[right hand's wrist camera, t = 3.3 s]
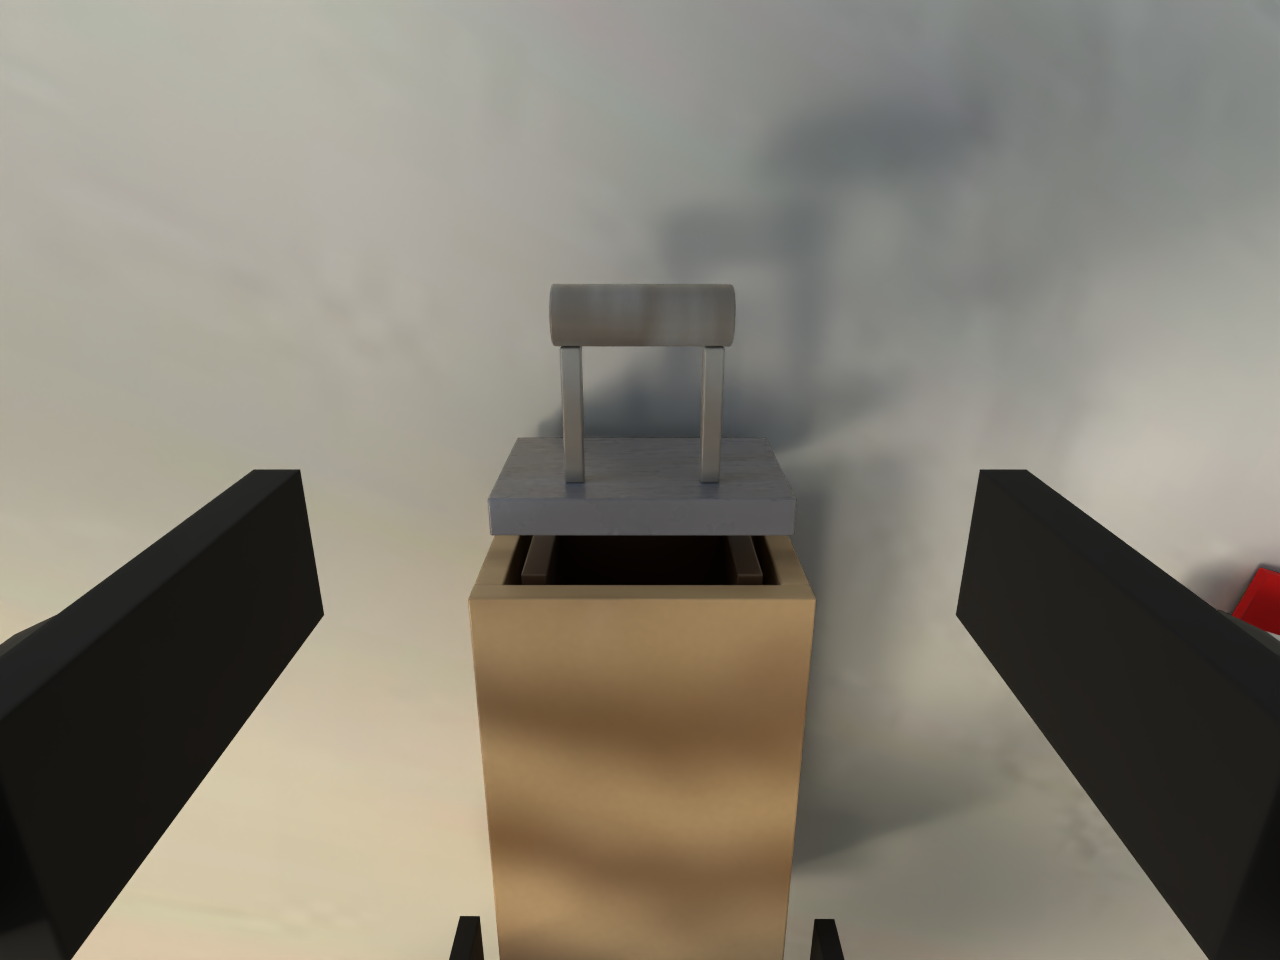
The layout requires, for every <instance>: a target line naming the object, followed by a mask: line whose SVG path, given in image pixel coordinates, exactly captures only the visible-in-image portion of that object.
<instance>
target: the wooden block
mask: <svg viewBox="0 0 1280 960" xmlns="http://www.w3.org/2000/svg"><path fill="white" fill-rule="evenodd" d="M750 536H751V539H752V542H753V546H754V549H755V552H756V555H757V558H758V561H759V565H760V568H761V571H762V574H763V582H762V585H522V580H521V574H522V571H523V568H524V564H525V561H526V558H527V554H528V551H529V548H530V545H531V541H532V538H533V535H495V537H494V539H493V541H492V544H491V546H490V549H489V551H488V554H487V556H486V558H485V561H484V563H483V566H482V568H481V570H480V573H479V575H478V578H477V580H476V583H475V585H474V587H473V589H472V592H471V594H470V596H469V599H468V604H469V616H470V627H471V638H472V649H473V661H474V672H475V683H476V695H477V706H478V717H479V729H480V740H481V751H482V762H483V774H484V785H485V796H486V808H487V819H488V830H489V842H490V853H491V864H492V876H493V887H494V898H495V909H496V921H497V932H498V943H499V955H500V960H783V956H784V945H785V934H786V924H787V913H788V902H789V891H790V880H791V869H792V858H793V847H794V836H795V826H796V815H797V804H798V793H799V782H800V771H801V760H802V749H803V739H804V728H805V717H806V706H807V695H808V684H809V673H810V662H811V652H812V641H813V630H814V619H815V608H816V598H815V596H814V593H813V591H812V589H811V586H810V585H809V583H808V580H807V578H806V576H805V573H804V571H803V568H802V566H801V564H800V561H799V559H798V557H797V554H796V552H795V550H794V547H793V545H792V543H791V540H790V538H789V536H788V535H750Z"/></svg>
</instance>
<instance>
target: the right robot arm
mask: <svg viewBox="0 0 1280 960" xmlns="http://www.w3.org/2000/svg"><path fill="white" fill-rule="evenodd" d="M323 616H324V611H323V605H322V599H321V593H320V587H319V581H318V575H317V569H316V563H315V557H314V551H313V545H312V539H311V533H310V527H309V521H308V515H307V509H306V503H305V497H304V491H303V485H302V479H301V473H300V470H253V471H251V472H250V473H249V474H247V475H246V476H244V477H243V478H242V479H240V480H239V481H238V482H236V483H235V484H234V485H232V486H231V487H230V488H228V489H227V490H225V491H224V492H223V493H221V494H220V495H219V496H217V497H216V498H215V499H213V500H212V501H211V502H209V503H208V504H206V505H205V506H204V507H202V508H201V509H200V510H198V511H197V512H196V513H194V514H193V515H192V516H190V517H189V518H188V519H186V520H185V521H183V522H182V523H181V524H179V525H178V526H177V527H175V528H174V529H173V530H171V531H170V532H169V533H167V534H166V535H164V536H163V537H162V538H160V539H159V540H158V541H156V542H155V543H154V544H152V545H151V546H150V547H148V548H147V549H145V550H144V551H143V552H141V553H140V554H139V555H137V556H136V557H135V558H133V559H132V560H131V561H129V562H128V563H127V564H125V565H124V566H122V567H121V568H120V569H118V570H117V571H116V572H114V573H113V574H112V575H110V576H109V577H108V578H106V579H105V580H103V581H102V582H101V583H99V584H98V585H97V586H95V587H94V588H93V589H91V590H90V591H89V592H87V593H86V594H84V595H83V596H82V597H80V598H79V599H78V600H76V601H75V602H74V603H72V604H71V605H70V606H68V607H67V608H66V609H64V610H63V611H61V612H60V613H59V614H57V615H55V616H53V617H51V618H49V619H47V620H45V621H42V622H40V623H38V624H36V625H34V626H32V627H30V628H28V629H25V630H23V631H21V632H19V633H17V634H15V635H13V636H12V637H10V638H9V639H8V640H6V641H5V642H4V643H2V644H1V645H0V960H71V959H72V958H73V956H74V955H75V953H76V952H77V951H78V949H79V948H80V947H81V945H82V944H83V943H84V941H85V940H86V939H87V937H88V936H89V934H90V933H91V932H92V930H93V929H94V928H95V926H96V925H97V924H98V922H99V921H100V919H101V918H102V917H103V915H104V914H105V913H106V911H107V910H108V909H109V907H110V906H111V904H112V903H113V902H114V900H115V899H116V898H117V896H118V895H119V894H120V892H121V891H122V889H123V888H124V887H125V885H126V884H127V883H128V881H129V880H130V879H131V877H132V876H133V874H134V873H135V872H136V870H137V869H138V868H139V866H140V865H141V864H142V862H143V861H144V860H145V858H146V857H147V855H148V854H149V853H150V851H151V850H152V849H153V847H154V846H155V845H156V843H157V842H158V840H159V839H160V838H161V836H162V835H163V834H164V832H165V831H166V830H167V828H168V827H169V825H170V824H171V823H172V821H173V820H174V819H175V817H176V816H177V815H178V813H179V812H180V810H181V809H182V808H183V806H184V805H185V804H186V802H187V801H188V800H189V798H190V797H191V796H192V794H193V793H194V791H195V790H196V789H197V787H198V786H199V785H200V783H201V782H202V781H203V779H204V778H205V776H206V775H207V774H208V772H209V771H210V770H211V768H212V767H213V766H214V764H215V763H216V761H217V760H218V759H219V757H220V756H221V755H222V753H223V752H224V751H225V749H226V748H227V746H228V745H229V744H230V742H231V741H232V740H233V738H234V737H235V736H236V734H237V733H238V731H239V730H240V729H241V727H242V726H243V725H244V723H245V722H246V721H247V719H248V718H249V717H250V715H251V714H252V712H253V711H254V710H255V708H256V707H257V706H258V704H259V703H260V702H261V700H262V699H263V697H264V696H265V695H266V693H267V692H268V691H269V689H270V688H271V687H272V685H273V684H274V682H275V681H276V680H277V678H278V677H279V676H280V674H281V673H282V672H283V670H284V669H285V667H286V666H287V665H288V663H289V662H290V661H291V659H292V658H293V657H294V655H295V654H296V652H297V651H298V650H299V648H300V647H301V646H302V644H303V643H304V642H305V640H306V639H307V638H308V636H309V635H310V633H311V632H312V631H313V629H314V628H315V627H316V625H317V624H318V623H319V621H320V620H321V618H322V617H323ZM956 616H957V617H958V618H959V620H960V621H961V623H962V624H963V625H964V627H965V628H966V629H967V631H968V632H969V633H970V635H971V636H972V638H973V639H974V640H975V642H976V643H977V644H978V646H979V647H980V648H981V650H982V651H983V653H984V654H985V655H986V657H987V658H988V659H989V661H990V662H991V663H992V665H993V666H994V667H995V669H996V670H997V672H998V673H999V674H1000V676H1001V677H1002V678H1003V680H1004V681H1005V682H1006V684H1007V685H1008V687H1009V688H1010V689H1011V691H1012V692H1013V693H1014V695H1015V696H1016V697H1017V699H1018V700H1019V702H1020V703H1021V704H1022V706H1023V707H1024V708H1025V710H1026V711H1027V712H1028V714H1029V715H1030V717H1031V718H1032V719H1033V721H1034V722H1035V723H1036V725H1037V726H1038V727H1039V729H1040V730H1041V732H1042V733H1043V734H1044V736H1045V737H1046V738H1047V740H1048V741H1049V742H1050V744H1051V745H1052V746H1053V748H1054V749H1055V751H1056V752H1057V753H1058V755H1059V756H1060V757H1061V759H1062V760H1063V761H1064V763H1065V764H1066V766H1067V767H1068V768H1069V770H1070V771H1071V772H1072V774H1073V775H1074V776H1075V778H1076V779H1077V781H1078V782H1079V783H1080V785H1081V786H1082V787H1083V789H1084V790H1085V791H1086V793H1087V794H1088V796H1089V797H1090V798H1091V800H1092V801H1093V802H1094V804H1095V805H1096V806H1097V808H1098V809H1099V811H1100V812H1101V813H1102V815H1103V816H1104V817H1105V819H1106V820H1107V821H1108V823H1109V824H1110V825H1111V827H1112V828H1113V830H1114V831H1115V832H1116V834H1117V835H1118V836H1119V838H1120V839H1121V840H1122V842H1123V843H1124V845H1125V846H1126V847H1127V849H1128V850H1129V851H1130V853H1131V854H1132V855H1133V857H1134V858H1135V860H1136V861H1137V862H1138V864H1139V865H1140V866H1141V868H1142V869H1143V870H1144V872H1145V873H1146V875H1147V876H1148V877H1149V879H1150V880H1151V881H1152V883H1153V884H1154V885H1155V887H1156V888H1157V890H1158V891H1159V892H1160V894H1161V895H1162V896H1163V898H1164V899H1165V900H1166V902H1167V903H1168V904H1169V906H1170V907H1171V909H1172V910H1173V911H1174V913H1175V914H1176V915H1177V917H1178V918H1179V919H1180V921H1181V922H1182V924H1183V925H1184V926H1185V928H1186V929H1187V930H1188V932H1189V933H1190V934H1191V936H1192V937H1193V939H1194V940H1195V941H1196V943H1197V944H1198V945H1199V947H1200V948H1201V949H1202V951H1203V952H1204V954H1205V955H1206V956H1207V958H1208V959H1209V960H1280V641H1279V640H1277V639H1276V638H1275V637H1273V636H1272V635H1270V634H1269V633H1268V632H1266V631H1264V630H1262V629H1260V628H1257V627H1255V626H1253V625H1251V624H1249V623H1247V622H1245V621H1242V620H1240V619H1238V618H1236V617H1234V616H1232V615H1230V614H1227V613H1225V612H1223V611H1221V610H1216V609H1214V608H1213V607H1212V606H1210V605H1209V604H1208V603H1206V602H1205V601H1204V600H1202V599H1201V598H1200V597H1198V596H1197V595H1195V594H1194V593H1193V592H1191V591H1190V590H1189V589H1187V588H1186V587H1185V586H1183V585H1182V584H1181V583H1179V582H1178V581H1177V580H1175V579H1174V578H1172V577H1171V576H1170V575H1168V574H1167V573H1166V572H1164V571H1163V570H1162V569H1160V568H1159V567H1158V566H1156V565H1155V564H1153V563H1152V562H1151V561H1149V560H1148V559H1147V558H1145V557H1144V556H1143V555H1141V554H1140V553H1139V552H1137V551H1136V550H1134V549H1133V548H1132V547H1130V546H1129V545H1128V544H1126V543H1125V542H1124V541H1122V540H1121V539H1120V538H1118V537H1117V536H1116V535H1114V534H1113V533H1111V532H1110V531H1109V530H1107V529H1106V528H1105V527H1103V526H1102V525H1101V524H1099V523H1098V522H1097V521H1095V520H1094V519H1092V518H1091V517H1090V516H1088V515H1087V514H1086V513H1084V512H1083V511H1082V510H1080V509H1079V508H1078V507H1076V506H1075V505H1073V504H1072V503H1071V502H1069V501H1068V500H1067V499H1065V498H1064V497H1063V496H1061V495H1060V494H1059V493H1057V492H1056V491H1055V490H1053V489H1052V488H1050V487H1049V486H1048V485H1046V484H1045V483H1044V482H1042V481H1041V480H1040V479H1038V478H1037V477H1036V476H1034V475H1033V474H1031V473H1030V472H1029V471H1027V470H980V473H979V479H978V485H977V491H976V497H975V503H974V509H973V515H972V521H971V527H970V533H969V539H968V545H967V551H966V557H965V563H964V569H963V575H962V581H961V587H960V593H959V599H958V605H957V611H956Z"/></svg>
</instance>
